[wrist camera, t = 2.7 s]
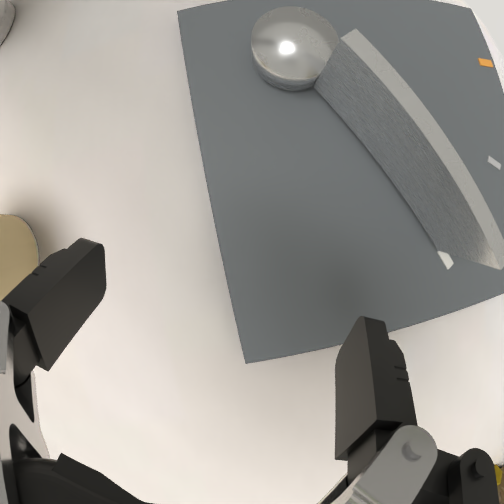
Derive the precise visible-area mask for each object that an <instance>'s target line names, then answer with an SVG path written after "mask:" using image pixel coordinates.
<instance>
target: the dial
mask: <svg viewBox="0 0 504 504" xmlns="http://www.w3.org/2000/svg"><path fill="white" fill-rule="evenodd" d="M251 58H252V63H253V66H254V68H255V70H256V72H257V73H258V75H259V76H260V77H261V78H262V79H263V80H264V81H266V82H267V83H269V84H270V85H272V86H274V87H277V88H279V89H283V90H288V91H301V90H306V89H309V88H312V87H314V88H315V89H316V90H317V91H318V92H319V93H320V94H321V95H322V97H323V98H324V99H325V100H326V101H327V102H328V103H329V104H330V105H331V106H332V108H333V109H334V110H335V111H336V112H337V113H338V114H339V116H340V117H341V118H342V119H343V120H344V121H345V122H346V124H347V125H348V126H349V127H350V128H351V130H352V131H353V132H354V133H355V134H356V136H357V137H358V138H359V139H360V140H361V142H362V143H363V144H364V145H365V147H366V148H367V149H368V150H369V152H370V153H371V154H372V155H373V157H374V158H375V159H376V161H377V162H378V163H379V164H380V166H381V167H382V168H383V170H384V171H385V172H386V174H387V175H388V176H389V178H390V179H391V181H392V182H393V183H394V185H395V186H396V187H397V189H398V190H399V192H400V193H401V194H402V196H403V197H404V199H405V200H406V202H407V203H408V205H409V206H410V208H411V209H412V210H413V212H414V213H415V215H416V216H417V218H418V219H419V221H420V223H421V224H422V226H423V227H424V229H425V230H426V232H427V233H428V235H429V237H430V238H431V240H432V241H433V243H434V245H435V246H436V248H437V250H438V251H441V252H444V253H448V254H451V255H454V256H458V257H461V258H464V259H467V260H471V261H474V262H477V263H480V264H483V265H486V266H489V267H493V268H496V269H499V270H502V268H503V267H504V239H503V237H502V235H501V232H500V230H499V228H498V226H497V224H496V222H495V220H494V218H493V216H492V214H491V212H490V210H489V208H488V206H487V204H486V202H485V200H484V198H483V196H482V194H481V193H480V191H479V189H478V187H477V185H476V183H475V182H474V180H473V178H472V176H471V175H470V173H469V171H468V170H467V168H466V166H465V165H464V163H463V161H462V160H461V158H460V157H459V155H458V153H457V152H456V150H455V149H454V147H453V146H452V144H451V143H450V141H449V140H448V138H447V137H446V135H445V134H444V132H443V131H442V129H441V128H440V126H439V125H438V124H437V122H436V121H435V119H434V118H433V117H432V115H431V114H430V113H429V111H428V110H427V109H426V107H425V106H424V105H423V103H422V102H421V101H420V99H419V98H418V97H417V96H416V94H415V93H414V92H413V91H412V89H411V88H410V87H409V86H408V84H407V83H406V82H405V81H404V80H403V78H402V77H401V76H400V75H399V74H398V73H397V71H396V70H395V69H394V68H393V67H392V66H391V65H390V63H389V62H388V61H387V60H386V59H385V58H384V57H383V56H382V55H381V54H380V52H379V51H378V50H377V49H376V48H375V47H374V46H373V45H372V44H371V43H370V42H369V41H368V40H367V39H366V38H365V37H364V36H363V35H362V34H361V33H360V32H359V31H358V30H357V29H354V30H352V31H351V32H349V33H348V34H346V35H344V36H343V37H341V38H340V40H339V39H338V35H337V33H336V31H335V29H334V28H333V26H332V25H331V24H330V23H329V22H328V21H327V20H326V19H325V18H324V17H322V16H321V15H319V14H318V13H316V12H314V11H311V10H309V9H306V8H302V7H294V6H286V7H280V8H276V9H273V10H270V11H269V12H267V13H265V14H264V15H262V16H261V17H260V18H259V19H258V20H257V22H256V23H255V25H254V27H253V30H252V35H251Z"/></svg>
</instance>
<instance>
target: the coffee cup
mask: <svg viewBox="0 0 504 504" xmlns="http://www.w3.org/2000/svg"><path fill="white" fill-rule="evenodd" d="M37 266H39V251H38V245H37V242H36V238H35V236H34V234H33V232H32V230H31V228H30V227H29V225H28V224H27V223H26V222H25V221H24V220H23V219H21V218H19V217H17V216H14V215H2V214H0V301H1V300H2V299H3V298H4V297H5V296H6V295H8V294H9V293H10V292H11V291H12V290H13V289H14V288H15V287H16V286H17V285H18V284H19V283H20V282H21V281H22V280H23V279H24V278H25V277H26V276H28V275H29V274H31V273H32V271H33V270H34V269H35V268H36V267H37Z"/></svg>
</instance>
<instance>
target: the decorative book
mask: <svg viewBox="0 0 504 504" xmlns="http://www.w3.org/2000/svg"><path fill="white" fill-rule="evenodd" d="M494 467H495V473H496V480H497V488H498V496H499V504H504V467H502V468H499V467H498V466H497V465H494Z"/></svg>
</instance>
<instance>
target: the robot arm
mask: <svg viewBox="0 0 504 504" xmlns="http://www.w3.org/2000/svg"><path fill="white" fill-rule="evenodd" d="M14 16H15V8H14V6H13V5H12V4H11V3H10V2H8V1H7V0H0V45H1V43H2V42H3V40H4V39H5V37H6V36H7V34H8V32H9V30H10V28H11V25H12V23H13V20H14ZM105 291H106V269H105V251H104V247H103V245H102V244H100V243H97V242H93V241H90V240H87V239H84V238H80V239H78V240H77V241H76V242H75V243H73V244H72V245H71V246H70V247H69V248H68V249H62V250H60V251H58V252H56V253H54V254H51V255H50V256H49V257H48V258H46V259H45V260H44V261H43V262H42V263H41V264H40V266H37V267H36V268H35V269H34V270H33V271H32V273H31V274H29V275H28V276H26V277H25V278H24V279H23V280H22V281H21V282H20V283H19V284H18V285H17V286H16V287H15V288H14V289H13V290H12V291H11V292H10V293H9V294H8V295H6V296H5V297H4V298H3V299H2V300H1V301H0V504H153V503H146V502H143V501H141V500H139V499H137V498H136V497H134V496H133V495H131V494H130V493H128V492H127V491H125V490H124V489H122V488H121V487H120V486H118V485H117V484H115V483H114V482H113V481H111V480H110V479H108V478H107V477H106V476H104V475H103V474H102V473H100V472H98V471H96V470H94V469H92V468H90V467H88V466H86V465H84V464H81V463H80V462H78V461H76V460H74V459H72V458H70V457H68V456H66V455H64V454H62V453H61V454H60V456H59V458H58V460H53V459H50V456H49V452H48V448H47V445H46V442H45V440H44V438H43V435H42V432H41V428H40V422H39V414H38V405H37V395H36V383H35V374H34V371H33V369H34V367H35V366H36V365H37V366H39V367H41V368H43V369H44V370H46V371H49V370H50V369H51V367H52V366H53V364H54V363H55V362H56V360H57V359H58V357H59V356H60V355H61V353H62V352H63V350H64V349H65V348H66V346H67V345H68V344H69V342H70V341H71V340H72V338H73V337H74V336H75V334H76V333H77V332H78V330H79V329H80V328H81V326H82V325H83V324H84V323H85V321H86V320H87V319H88V317H89V316H90V315H91V313H92V312H93V311H94V310H95V308H96V307H97V306H98V305H99V303H100V302H101V301H102V299H103V297H104V294H105ZM408 380H409V377H408V373H407V371H406V363H405V359H404V355H403V353H402V351H401V350H400V348H399V346H398V345H397V343H396V342H395V341H394V340H390V339H389V337H388V333H387V328H386V324H385V322H384V321H382V320H377V319H373V318H369V317H365V316H360V317H359V318H358V319H357V320H356V322H355V324H354V326H353V327H352V329H351V331H350V333H349V335H348V336H347V338H346V340H345V342H344V343H343V345H342V347H341V349H340V351H339V353H338V356H337V359H336V365H335V387H336V427H335V460H345V461H348V472H347V473H346V474H345V475H344V476H343V477H342V478H341V479H340V480H339V481H338V482H337V484H336V485H335V486H334V487H333V488H332V489H331V490H330V491H329V492H328V493H327V494H326V495H325V496H324V497H323V498H322V499H321V500H320V501H319V502H318V503H317V504H499V496H498V488H497V480H496V473H495V467H494V464H493V461H492V459H491V458H490V456H489V455H488V454H487V453H486V452H485V451H483V450H481V449H478V448H472V449H469V450H468V451H466V452H465V453H464V454H462V455H461V456H460V457H458V456H455V455H453V454H450V453H447V452H444V451H442V450H439V449H437V446H436V443H435V441H434V439H433V438H432V436H431V435H430V434H429V433H428V432H427V431H426V430H424V429H423V428H421V427H418V425H417V420H416V414H415V408H414V403H413V397H412V392H411V387H410V382H408Z"/></svg>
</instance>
